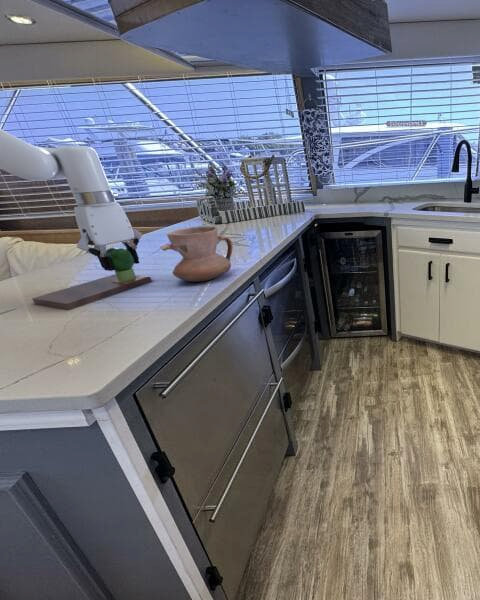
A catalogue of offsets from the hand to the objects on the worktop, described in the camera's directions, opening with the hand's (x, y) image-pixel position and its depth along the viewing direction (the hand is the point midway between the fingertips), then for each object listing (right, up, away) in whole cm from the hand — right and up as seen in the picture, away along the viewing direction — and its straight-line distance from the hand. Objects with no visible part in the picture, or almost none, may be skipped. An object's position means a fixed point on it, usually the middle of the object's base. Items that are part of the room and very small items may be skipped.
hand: (122, 266), depth 89 cm
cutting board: (-5, -7, -2) cm, 9 cm away
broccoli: (0, -4, +2) cm, 4 cm away
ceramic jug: (+20, -3, +6) cm, 21 cm away
